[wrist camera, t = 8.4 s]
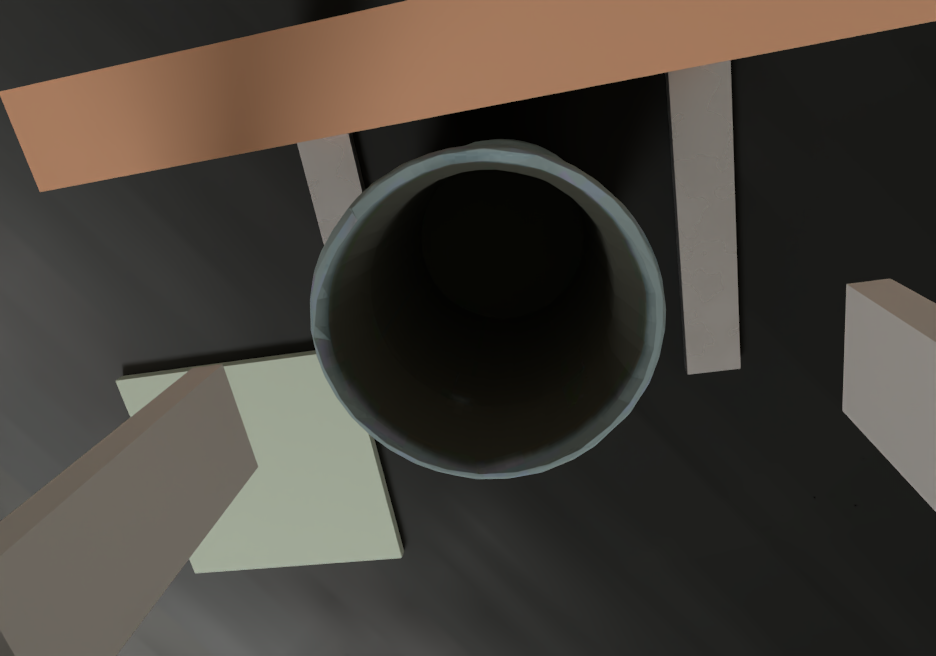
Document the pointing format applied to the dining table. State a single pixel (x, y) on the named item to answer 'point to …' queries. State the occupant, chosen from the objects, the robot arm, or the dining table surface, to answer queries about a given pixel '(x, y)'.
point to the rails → (695, 204)
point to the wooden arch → (396, 73)
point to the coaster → (292, 471)
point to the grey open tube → (488, 310)
